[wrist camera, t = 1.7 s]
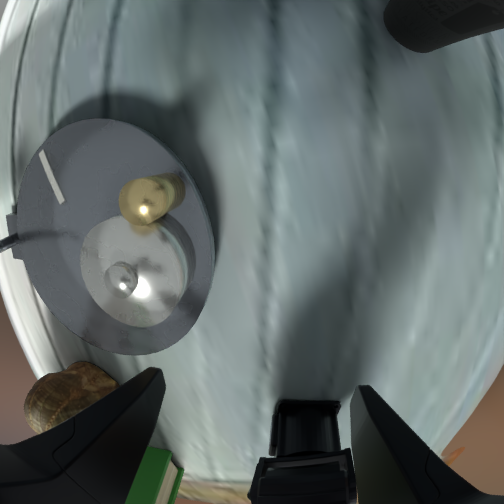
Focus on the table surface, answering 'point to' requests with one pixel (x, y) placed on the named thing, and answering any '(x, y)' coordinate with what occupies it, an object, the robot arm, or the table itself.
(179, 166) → the platter
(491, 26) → the drinking cup
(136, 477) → the hardback book
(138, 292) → the cover
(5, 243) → the dial stand
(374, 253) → the table surface
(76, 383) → the shell
